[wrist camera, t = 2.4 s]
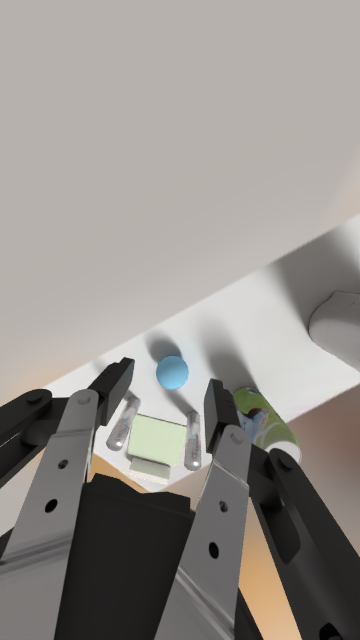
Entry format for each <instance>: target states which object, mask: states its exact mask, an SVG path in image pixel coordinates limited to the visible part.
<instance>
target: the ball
mask: <svg viewBox="0 0 360 640" xmlns="http://www.w3.org/2000/svg"><path fill="white" fill-rule="evenodd" d="M156 376H157V379H158V381H159V383H160V384H161V385H162V386H163V387H165V388H167V389H177V388H180V387H181V386H182V385H184V383H185V382H186V380H187V378H188V367H187V364H186V363H185V361H184V360H183V359H181V358H180V357H177V356H168V357H165V358H164V359H162V360H161V361H160V363H159V364H158V366H157V370H156Z"/></svg>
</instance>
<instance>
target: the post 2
mask: <svg viewBox="0 0 360 640" xmlns="http://www.w3.org/2000/svg"><path fill="white" fill-rule="evenodd" d="M184 465H185V467H186V468H187V469H188V470H190V471H197V470H199V469H200V468H201V435H200V415H199V414H198V413H197V412H190V413H188V415H187V430H186V445H185V461H184Z"/></svg>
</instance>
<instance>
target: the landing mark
mask: <svg viewBox="0 0 360 640" xmlns="http://www.w3.org/2000/svg"><path fill="white" fill-rule="evenodd" d="M186 430H187V426H183V425H179V424H175V423H171V422H167V421H163V420H159V419H155V418H151V417H147V416H143V415H139V414H136V416H135V418H134V420H133V423H132V428H131V434H130V440H129V446H128V452H127V454H131V455H135V456H139V457H142V458H146V459H150V460H154V461H158V462H162V463H166V464H169V465H173V466H178V463H179V460H180V456H181V453H182V450H183V446H184V443H185V440H186Z"/></svg>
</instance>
